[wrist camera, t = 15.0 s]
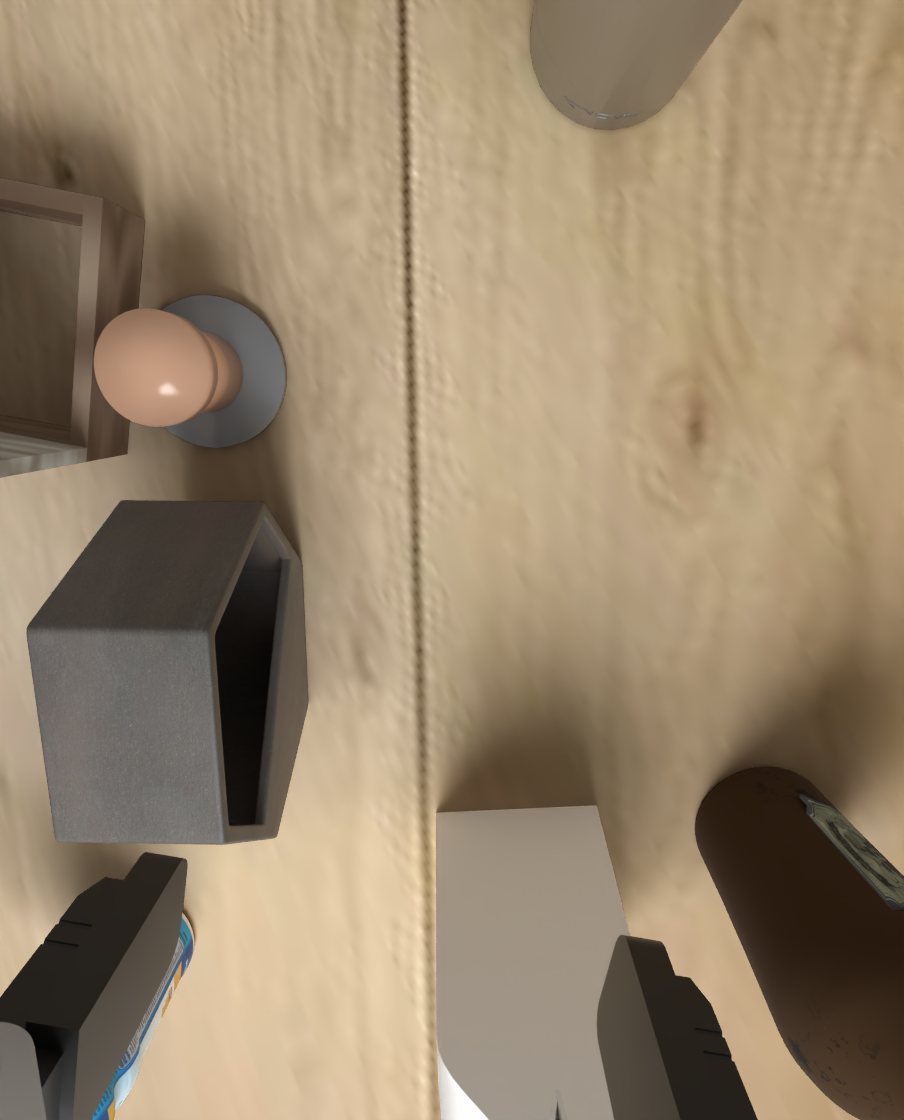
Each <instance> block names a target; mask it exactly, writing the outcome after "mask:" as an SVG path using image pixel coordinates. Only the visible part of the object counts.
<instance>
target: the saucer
mask: <svg viewBox="0 0 904 1120" xmlns="http://www.w3.org/2000/svg"><path fill="white" fill-rule="evenodd" d="M161 311H164V312H168V313H172V314H175V315H178V316H180V317H183V318H184V319H186V320H188V321H190V322H191V323H192V324H194V325H195V326H196V327H197V328H198V329H199V330H201V331H206V332H210V333H213V334H216V335H218V336H220V337H222V338H223V339H225V340H226V341H227V342H228V343H229V344H231V346H232V347H233V348H234V349H235V351H236V352H237V354H238V356H239V358H240V361H241V363H242V368H243V383H242V387H241V390H240V392H239V394H238V396H237V397H236V399H235V400H234V401H233V402H232V403H231V404H230V405H229V406H227V407H226V408H224V409H222V410H220V411H216V412H211V413H201V414H199V415H198V416H197V417H195V418H194V419H192V420H190V421H188V422H185V423H182V424H178V425H171V426H164V427H165V428H166V429H167V430H168V431H170V432H171V433H173V434H174V435H175V436H177V437H179V438H181V439H183V440H184V441H187V442H190V443H192V444H195V445H199V446H204V447H227V446H233V445H236V444H240V443H243V442H246V441H248V440H250V439H252V438H254V437H255V436H257V435H258V434H260V433H261V432H262V431H263V430H264V429H266V428H267V427H268V425H269V424H270V423H271V422H272V421H273V419H274V418H275V416H276V415H277V413H278V411H279V409H280V407H281V405H282V402H283V399H284V396H285V390H286V381H287V373H286V364H285V359H284V355H283V352H282V349H281V347H280V345H279V342H278V340H277V338H276V337H275V335H274V334H273V332H272V330H271V329H270V328H269V327H268V325H267V324H266V323H265V322H264V321H263V320H262V319H261V318H260V317H259V316H258V315H257V314H255V313H254V312H253V311H251V310H250V309H248V308H247V307H245V306H243V305H241V304H239V303H237V302H234V301H232V300H229V299H226V298H223V297H219V296H212V295H196V296H190V297H186V298H183V299H179V300H177V301H175V302H173V303H171V304H169V305H168V306H166V307H165V308H163V309H162V310H161Z"/></svg>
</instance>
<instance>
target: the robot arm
mask: <svg viewBox="0 0 904 1120" xmlns="http://www.w3.org/2000/svg"><path fill="white" fill-rule="evenodd" d="M741 2H742V0H535V5H534V11H533V17H532V23H531V28H530V52H531V58H532V63H533V69H534V71H535V74H536V76H537V79H538V82H539V84H540V87H541V88H542V90H543V91H544V93H545V94H546V96H547V97H548V99H549V100H550V102H551V103H552V104H553V105H554V106H555V107H556V108H557V109H558V110H559V111H560V112H561V113H562V114H563V115H565V116H567V117H568V118H570V119H572V120H573V121H575V122H576V123H578V124H581V125H584V126H587V127H591V128H594V129H605V130H614V129H620V128H627V127H630V126H633V125H635V124H638V123H640V122H643V121H645V120H646V119H648V118H649V117H651V116H652V115H654V114H655V113H657V112H658V111H660V110H661V109H662V108H663V107H664V106H665V105H666V104H667V103H668V102H669V101H670V100H671V99H672V98H673V96H674V95H675V93H676V92H677V91H678V89H679V88H680V86H681V85H682V84H683V82H684V81H685V79H686V78H687V77H688V75H689V74H690V72H691V71H692V70H693V68H694V67H695V66H696V64H697V63H698V62H699V60H700V59H701V58H702V56H703V55H704V53H705V52H706V51H707V49H708V48H709V46H710V45H711V44H712V42H713V41H714V39H715V38H716V37H717V35H718V34H719V32H720V31H721V30H722V28H723V27H724V25H725V24H726V23H727V21H728V20H729V18H730V17H731V16H732V14H733V13H734V11H735V10H736V9H737V7H738V6H739V4H740V3H741ZM186 876H187V860H186V859H183V858H177V857H172V856H166V855H160V854H154V853H148V852H145V853H143V854H142V855H141V857H140V858H139V859H138V861H137V862H136V864H135V865H134V866H133V868H132V869H131V871H130V872H129V874H128V875H127V876H126V878H125V879H124V880H118V879H112V878H107V877H105V878H104V879H102V880H101V881H99V882H98V883H96V884H95V885H93V886H92V887H90V888H89V889H87V890H86V891H84V892H83V893H81V894H80V895H78V896H77V898H76V899H75V900H74V902H73V903H72V904H71V906H70V907H69V908H68V910H67V911H66V912H65V913H64V915H63V916H62V917H61V919H60V921H59V924H56V925H55V927H54V928H53V929H52V930H51V932H50V933H49V934H48V936H47V937H46V938H45V941H44V943H43V945H42V944H41V945H40V946H39V947H38V949H37V950H36V951H35V953H34V954H33V955H32V957H31V958H30V959H29V961H28V962H27V963H26V964H25V966H24V967H23V968H22V970H21V971H20V972H19V974H18V975H17V976H16V977H15V979H14V980H13V981H12V983H11V984H10V985H9V987H8V988H7V989H6V991H5V992H4V993H3V994H2V996H1V997H0V1120H91V1119H92V1117H93V1115H94V1113H95V1111H96V1109H97V1107H98V1105H99V1103H100V1101H101V1099H102V1097H103V1095H104V1093H105V1091H106V1090H107V1088H108V1086H109V1084H110V1082H111V1080H112V1078H113V1076H114V1074H115V1072H116V1070H117V1068H118V1066H119V1064H120V1062H121V1060H122V1058H123V1056H124V1054H125V1052H126V1050H127V1049H128V1047H129V1045H130V1043H131V1041H132V1039H133V1037H134V1035H135V1033H136V1031H137V1029H138V1027H139V1025H140V1023H141V1021H142V1019H143V1017H144V1015H145V1013H146V1011H147V1009H148V1008H149V1006H150V1004H151V1002H152V1000H153V998H154V996H155V994H156V992H157V990H158V988H159V986H160V984H161V982H162V980H163V978H164V976H165V974H166V972H167V970H168V968H169V966H170V964H171V961H172V959H173V956H174V953H175V950H176V947H177V943H178V939H179V935H180V929H181V921H182V912H183V903H184V894H185V885H186ZM597 1038H598V1044H599V1049H600V1054H601V1059H602V1063H603V1068H604V1073H605V1078H606V1083H607V1088H608V1092H609V1097H610V1102H611V1107H612V1112H613V1117H614V1120H758V1119H757V1117H756V1114H755V1112H754V1110H753V1107H752V1105H751V1102H750V1100H749V1097H748V1095H747V1092H746V1090H745V1087H744V1085H743V1082H742V1080H741V1077H740V1075H739V1072H738V1070H737V1067H736V1065H735V1063H734V1062H733V1061H732V1059H731V1056H732V1055H731V1053H730V1050H729V1048H728V1045H727V1043H726V1040H725V1038H723V1037H722V1030H721V1028H720V1025H719V1023H718V1020H717V1018H716V1016H715V1013H714V1011H713V1008H712V1006H711V1004H710V1002H709V1001H708V1000H707V999H706V997H705V996H704V995H703V994H702V992H701V991H700V990H699V989H698V987H697V986H696V985H695V984H694V982H693V981H692V980H691V979H690V978H688V977H682V976H676V975H675V973H674V970H673V968H672V965H671V962H670V959H669V957H668V954H667V951H666V948H665V946H664V945H663V943H662V942H660V941H655V940H650V939H644V938H638V937H632V936H626V935H620V936H619V937H618V938H617V941H616V943H615V946H614V950H613V953H612V957H611V961H610V964H609V968H608V971H607V975H606V978H605V982H604V985H603V989H602V992H601V996H600V999H599V1004H598V1011H597Z"/></svg>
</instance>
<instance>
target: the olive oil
mask: <svg viewBox="0 0 904 1120" xmlns="http://www.w3.org/2000/svg"><path fill="white" fill-rule="evenodd" d="M695 835H696V841H697V845H698V848H699V851H700V853H701V856H702V858H703V860H704V862H705V864H706V866H707V868H708V871H709V873H710V875H711V877H712V879H713V881H714V883H715V886H716V888H717V890H718V892H719V894H720V896H721V898H722V901H723V903H724V905H725V907H726V910H727V912H728V914H729V917H730V919H731V921H732V923H733V926H734V928H735V930H736V933H737V935H738V937H739V939H740V942H741V944H742V946H743V949H744V951H745V953H746V955H747V958H748V960H749V962H750V965H751V967H752V969H753V972H754V974H755V976H756V979H757V981H758V984H759V986H760V988H761V991H762V993H763V995H764V998H765V1000H766V1002H767V1005H768V1007H769V1010H770V1012H771V1014H772V1017H773V1019H774V1021H775V1024H776V1026H777V1028H778V1031H779V1033H780V1035H781V1037H782V1039H783V1041H784V1043H785V1045H786V1047H787V1048H788V1050H789V1052H790V1053H791V1055H792V1056H793V1058H794V1059H795V1061H796V1062H797V1064H798V1065H799V1066H800V1067H801V1069H802V1070H803V1071H804V1072H805V1073H806V1075H807V1076H808V1077H809V1078H810V1079H811V1080H812V1081H813V1083H814V1084H815V1085H816V1086H817V1087H818V1088H819V1089H820V1090H821V1091H822V1092H823V1093H824V1094H825V1095H826V1096H827V1097H828V1098H829V1099H830V1100H832V1101H833V1102H834V1103H835V1104H836V1105H838V1106H839V1107H840V1108H842V1109H843V1110H844V1111H846V1112H847V1113H849V1114H851V1115H852V1116H854V1117H856V1118H858V1119H860V1120H904V876H903V875H902V874H901V873H900V872H899V871H898V870H897V869H896V868H895V867H894V866H893V865H892V864H891V863H890V862H889V861H888V860H887V859H886V858H885V857H884V856H883V855H882V854H881V853H880V852H879V851H878V850H877V849H876V848H875V847H874V846H873V845H872V844H871V843H870V842H869V841H868V840H867V839H866V838H865V837H864V836H863V835H862V834H861V833H860V832H859V831H858V830H857V829H856V828H855V827H854V826H853V825H852V824H851V823H850V822H849V821H848V820H847V819H846V818H845V817H844V816H843V815H842V814H841V813H840V812H839V811H838V810H837V809H836V808H835V807H834V806H833V805H832V804H831V803H830V802H829V801H828V800H827V799H826V798H825V797H824V795H823V794H822V793H821V792H820V791H819V790H818V789H817V788H816V787H815V786H814V785H813V784H811V783H810V782H809V781H808V780H806V779H805V778H803V777H802V776H800V775H798V774H796V773H794V772H791V771H788V770H785V769H780V768H773V767H761V768H753V769H749V770H745V771H742V772H739V773H737V774H735V775H732V776H731V777H729V778H727V779H725V780H724V781H722V782H721V783H720V784H719V785H717V786H716V787H715V788H714V789H713V790H712V791H711V792H710V793H709V795H708V796H707V797H706V799H705V800H704V802H703V803H702V805H701V807H700V810H699V812H698V815H697V819H696V826H695Z"/></svg>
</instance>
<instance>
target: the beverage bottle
mask: <svg viewBox="0 0 904 1120" xmlns="http://www.w3.org/2000/svg"><path fill="white" fill-rule="evenodd" d="M193 951H194V935H193V931H192V928H191V925H190V923H189V921H188V919H187V918H186V916H185V915H184V914H183V912H182V921H181V929H180V935H179V939H178V943H177V947H176V950H175V953H174V956H173V959H172V961H171V964H170V966H169V968H168V970H167V972H166V974H165V976H164V978H163V980H162V982H161V984H160V986H159V988H158V990H157V992H156V994H155V996H154V998H153V1000H152V1002H151V1004H150V1006H149V1008H148V1009H147V1011H146V1013H145V1015H144V1017H143V1019H142V1021H141V1023H140V1025H139V1027H138V1029H137V1031H136V1033H135V1035H134V1037H133V1039H132V1041H131V1043H130V1045H129V1047H128V1049H127V1050H126V1052H125V1054H124V1056H123V1058H122V1060H121V1062H120V1064H119V1066H118V1068H117V1070H116V1072H115V1074H114V1076H113V1078H112V1080H111V1082H110V1084H109V1086H108V1088H107V1090H106V1091H105V1093H104V1095H103V1097H102V1099H101V1101H100V1103H99V1105H98V1107H97V1109H96V1111H95V1113H94V1115H93V1117H92V1119H91V1120H114V1116H115V1110H116V1109H118V1108H119V1106H120V1105H121V1104H122V1103H123V1102H124V1100H125V1099H126V1097H127V1096H128V1094H129V1092H130V1091H131V1089H132V1087H133V1085H134V1083H135V1081H136V1078H137V1076H138V1073H139V1068H140V1063H141V1061H142V1059H143V1056H144V1054H145V1052H146V1050H147V1048H148V1046H149V1044H150V1042H151V1039H152V1037H153V1035H154V1033H155V1031H156V1029H157V1027H158V1025H159V1022H160V1020H161V1018H162V1016H163V1014H164V1012H165V1010H166V1008H167V1005H168V1003H169V1001H170V999H171V997H172V995H173V993H174V991H175V989H176V987H177V985H178V983H179V980H180V979H181V977H182V976H183V974H184V973H185V971H186V969H187V967H188V965H189V963H190V961H191V958H192V955H193Z"/></svg>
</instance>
